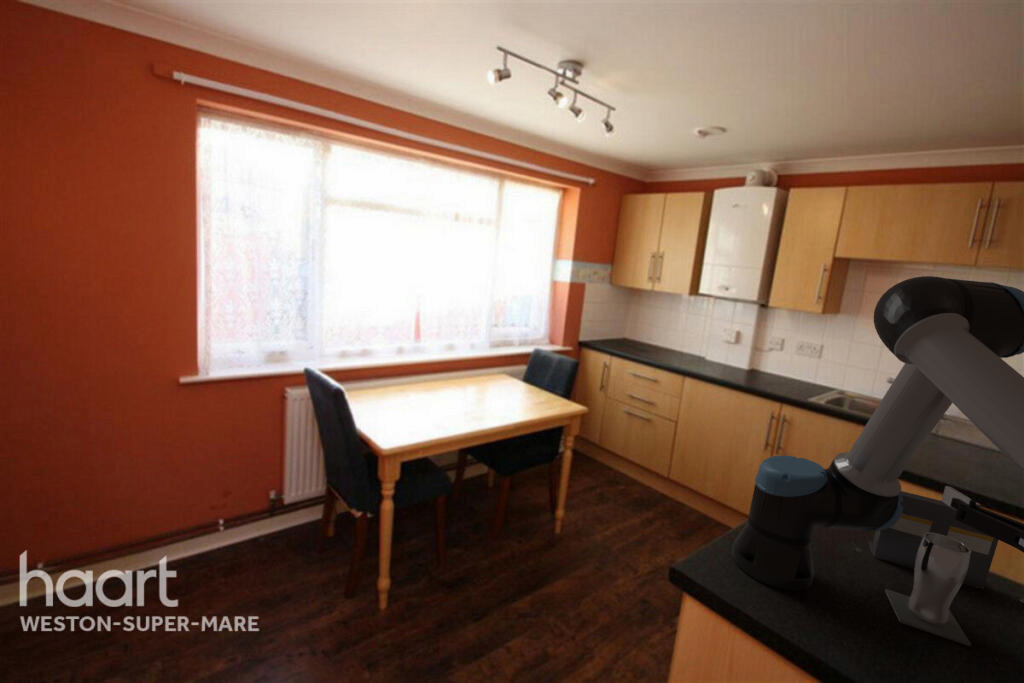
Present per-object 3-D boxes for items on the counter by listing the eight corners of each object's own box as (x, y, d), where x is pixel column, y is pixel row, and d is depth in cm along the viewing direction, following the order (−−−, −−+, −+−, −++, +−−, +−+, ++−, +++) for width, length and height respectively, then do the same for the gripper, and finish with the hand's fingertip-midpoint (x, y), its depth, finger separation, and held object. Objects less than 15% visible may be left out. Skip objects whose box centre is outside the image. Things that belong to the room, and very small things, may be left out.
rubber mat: (899, 622, 86) (900, 620, 86) (884, 591, 95) (885, 588, 95) (970, 646, 82) (971, 644, 82) (948, 611, 91) (948, 609, 91)
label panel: (874, 558, 107) (891, 493, 104) (868, 545, 112) (884, 483, 109) (984, 591, 99) (1005, 521, 96) (971, 575, 104) (991, 509, 101)
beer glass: (895, 597, 93) (914, 528, 90) (936, 607, 91) (957, 537, 88) (914, 622, 86) (936, 548, 83) (960, 633, 84) (983, 558, 82)
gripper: (1004, 585, 60) (902, 507, 80) (1249, 636, 55) (1074, 539, 76) (1021, 531, 59) (913, 466, 79) (1272, 579, 54) (1089, 497, 75)
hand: (992, 502), depth 78 cm, fingers open, 13 cm apart
